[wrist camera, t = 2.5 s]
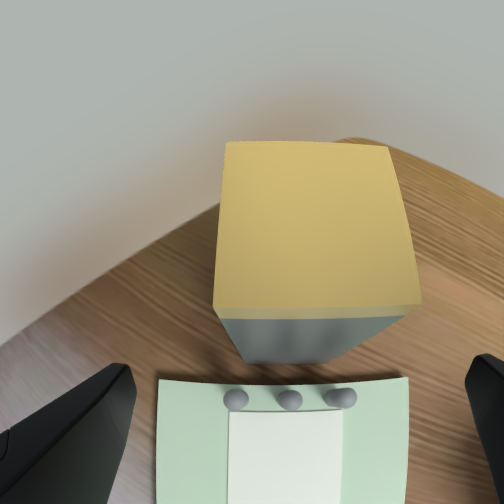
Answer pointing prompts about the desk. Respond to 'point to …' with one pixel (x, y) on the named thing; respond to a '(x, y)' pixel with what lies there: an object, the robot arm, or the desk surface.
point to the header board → (282, 443)
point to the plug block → (310, 249)
